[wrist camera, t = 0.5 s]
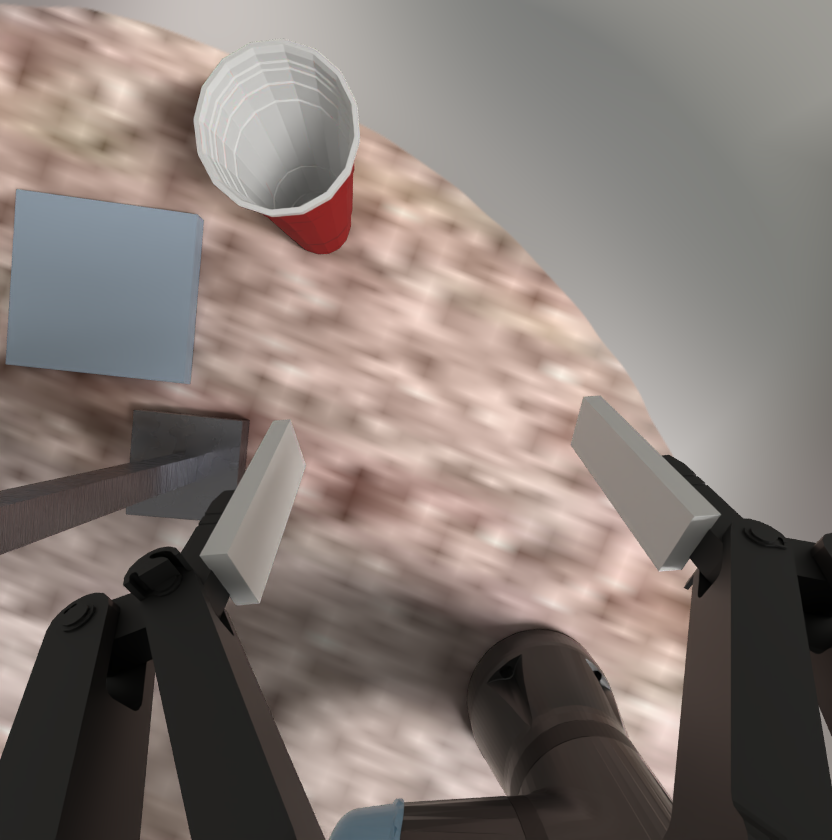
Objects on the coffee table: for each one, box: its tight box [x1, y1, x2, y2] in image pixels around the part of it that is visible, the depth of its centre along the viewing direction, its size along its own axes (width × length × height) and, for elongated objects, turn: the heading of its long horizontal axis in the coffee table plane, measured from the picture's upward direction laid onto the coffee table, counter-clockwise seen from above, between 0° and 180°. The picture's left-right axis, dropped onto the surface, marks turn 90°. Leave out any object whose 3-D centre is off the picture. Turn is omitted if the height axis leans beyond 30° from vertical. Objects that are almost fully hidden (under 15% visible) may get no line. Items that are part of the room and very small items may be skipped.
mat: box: [6, 189, 204, 384], centre depth 31 cm, size 16×16×1 cm
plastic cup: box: [194, 39, 360, 254], centre depth 27 cm, size 11×11×12 cm
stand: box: [0, 410, 250, 555], centre depth 23 cm, size 10×22×18 cm, turn 84°
